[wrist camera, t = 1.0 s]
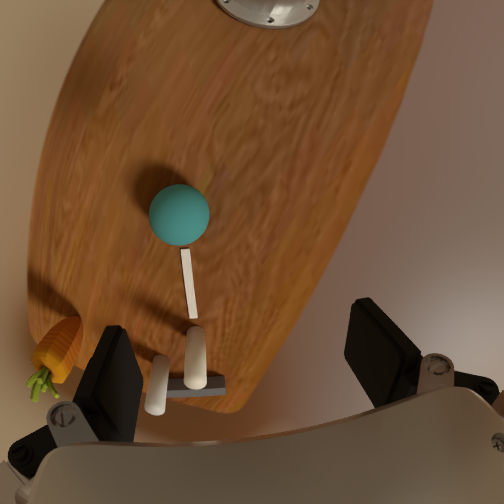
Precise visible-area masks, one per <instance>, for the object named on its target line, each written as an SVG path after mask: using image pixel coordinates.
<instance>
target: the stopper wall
mask: <svg viewBox="0 0 504 504" xmlns="http://www.w3.org/2000/svg"><path fill="white" fill-rule="evenodd" d="M213 395H226V388H225V379H224V376H214V377H207V384H206V386H205V387H204V388H202V389H197V390H195V389H190V388H188V387H187V386H186V385H185V384H184V378H175V379H168V383H167V393H166V397H197V396H213Z"/></svg>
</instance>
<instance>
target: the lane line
mask: <svg viewBox="0 0 504 504" xmlns="http://www.w3.org/2000/svg"><path fill="white" fill-rule="evenodd" d="M181 257H182V265H183V274H184V281H185V289H186V297H187V304H188V311H189V317H190V318H198V316H197V308H196V301H195V293H194V284H193V276H192V266H191V257H190V248H188V249H181Z"/></svg>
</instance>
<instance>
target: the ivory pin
mask: <svg viewBox="0 0 504 504" xmlns="http://www.w3.org/2000/svg"><path fill="white" fill-rule="evenodd" d="M184 384H185V385H186V386H187V387H188V388H190V389H195V390H197V389H202V388H204V387H205V386H206V384H207V376H206V340H205V331H204V329H203V328H201V327H199V326H192V327H190V328H189V329H188V330H187V338H186V352H185V367H184Z"/></svg>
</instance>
